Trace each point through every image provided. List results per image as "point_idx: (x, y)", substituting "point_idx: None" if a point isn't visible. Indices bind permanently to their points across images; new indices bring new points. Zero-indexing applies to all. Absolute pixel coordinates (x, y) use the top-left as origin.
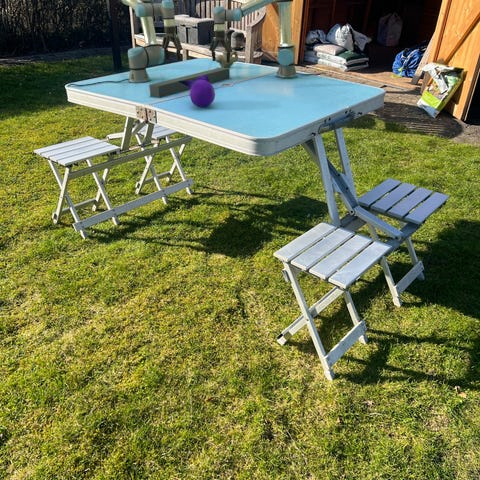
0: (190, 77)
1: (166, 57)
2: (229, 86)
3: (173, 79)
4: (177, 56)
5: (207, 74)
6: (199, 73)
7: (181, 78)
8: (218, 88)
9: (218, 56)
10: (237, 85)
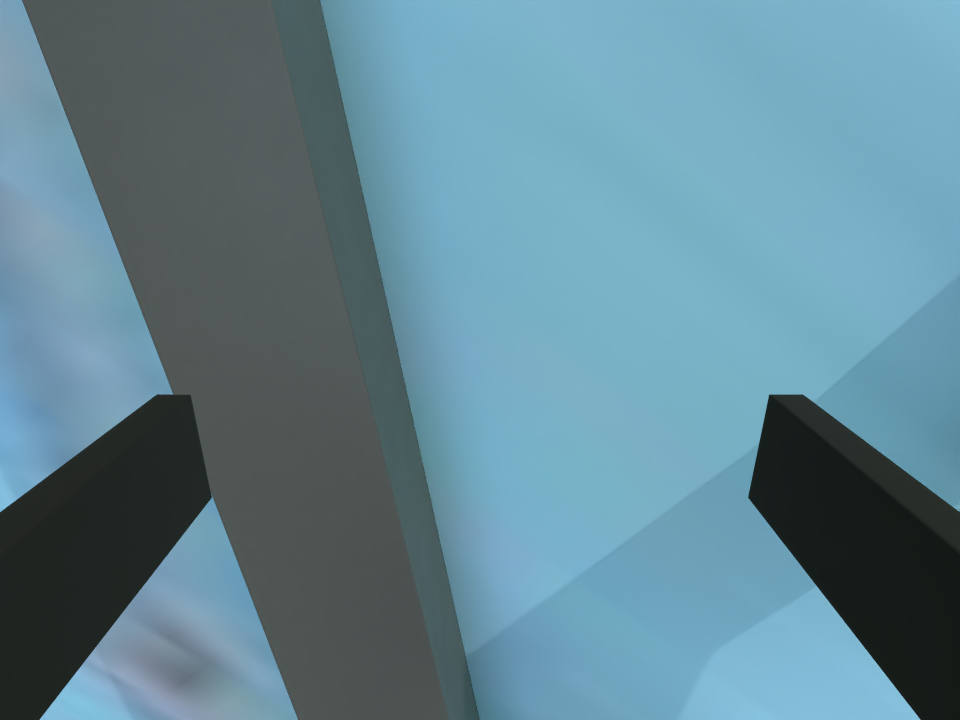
0: (223, 423)
1: (796, 453)
2: (104, 649)
3: (263, 133)
4: (56, 472)
5: (287, 680)
6: (390, 655)
7: (246, 285)
8: None
9: None
10: (99, 708)
